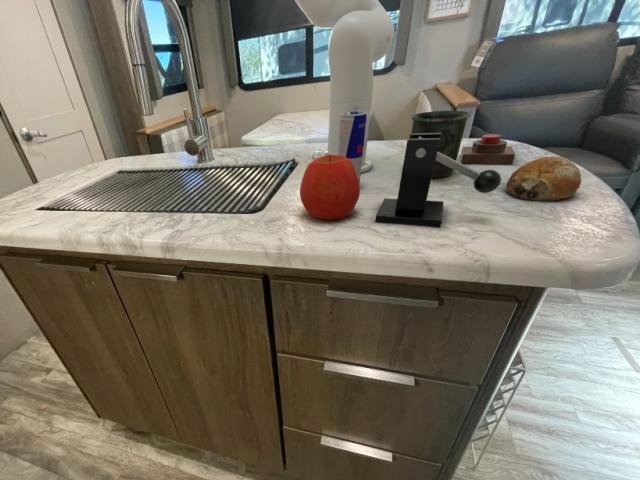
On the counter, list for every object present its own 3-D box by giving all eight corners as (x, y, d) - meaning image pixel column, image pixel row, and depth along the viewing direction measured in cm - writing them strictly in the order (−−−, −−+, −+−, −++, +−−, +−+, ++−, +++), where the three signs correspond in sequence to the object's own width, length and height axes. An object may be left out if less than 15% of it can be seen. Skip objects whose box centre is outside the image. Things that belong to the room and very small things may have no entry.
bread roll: (569, 219, 58) (612, 175, 54) (523, 200, 56) (563, 153, 52) (529, 201, 66) (564, 161, 62) (488, 184, 64) (521, 141, 60)
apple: (297, 205, 68) (297, 150, 62) (351, 201, 67) (356, 144, 61) (302, 226, 60) (302, 164, 53) (363, 221, 58) (371, 158, 52)
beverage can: (360, 190, 72) (368, 112, 63) (336, 191, 73) (341, 114, 64) (358, 183, 76) (365, 109, 67) (335, 184, 77) (340, 111, 68)
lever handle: (487, 192, 53) (505, 173, 50) (489, 200, 51) (508, 180, 48) (408, 152, 55) (422, 131, 52) (406, 157, 52) (420, 136, 50)
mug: (444, 165, 80) (458, 108, 73) (469, 182, 68) (488, 117, 61) (397, 168, 82) (406, 113, 75) (413, 186, 70) (426, 123, 63)
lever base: (442, 207, 60) (461, 129, 52) (440, 227, 53) (462, 141, 46) (383, 204, 64) (393, 131, 57) (375, 222, 58) (385, 143, 50)
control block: (460, 163, 79) (465, 146, 77) (460, 155, 85) (464, 139, 83) (511, 164, 75) (518, 145, 73) (508, 155, 81) (514, 138, 78)
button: (480, 145, 77) (483, 137, 76) (480, 142, 80) (482, 134, 79) (499, 145, 76) (502, 137, 75) (498, 142, 78) (500, 134, 77)
